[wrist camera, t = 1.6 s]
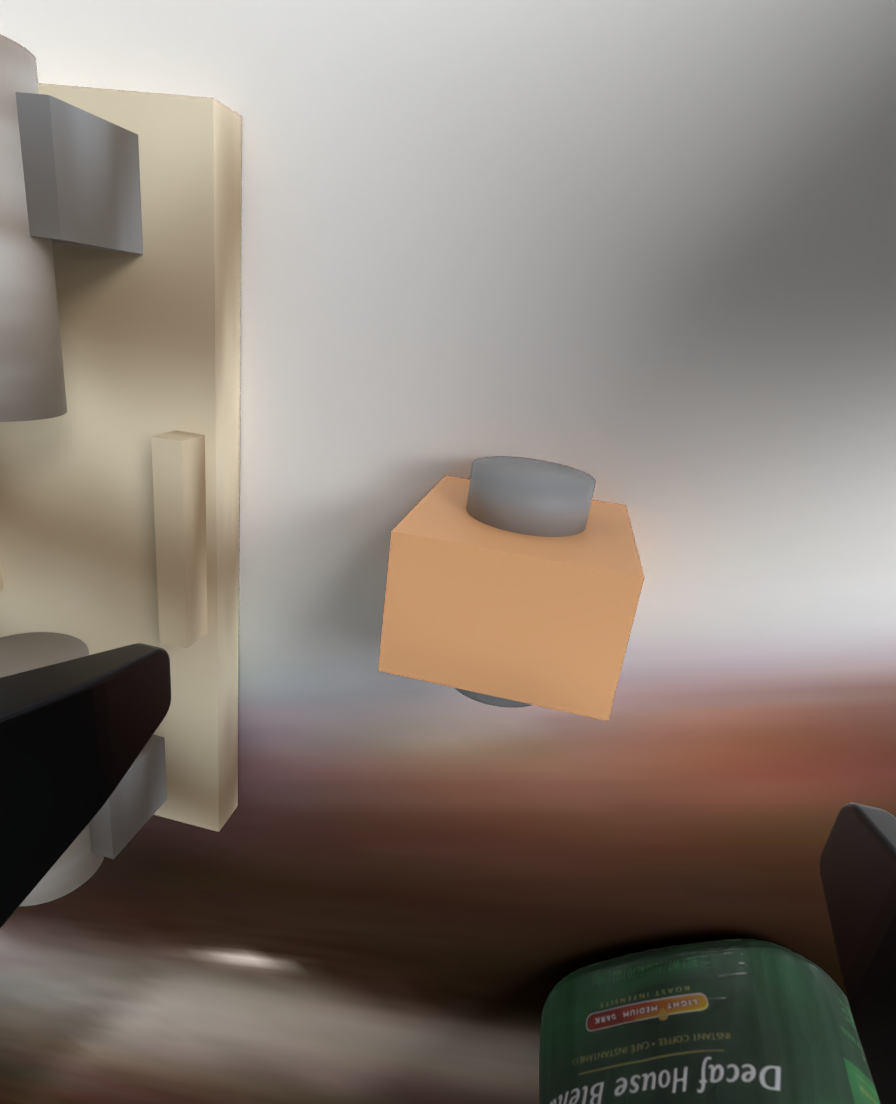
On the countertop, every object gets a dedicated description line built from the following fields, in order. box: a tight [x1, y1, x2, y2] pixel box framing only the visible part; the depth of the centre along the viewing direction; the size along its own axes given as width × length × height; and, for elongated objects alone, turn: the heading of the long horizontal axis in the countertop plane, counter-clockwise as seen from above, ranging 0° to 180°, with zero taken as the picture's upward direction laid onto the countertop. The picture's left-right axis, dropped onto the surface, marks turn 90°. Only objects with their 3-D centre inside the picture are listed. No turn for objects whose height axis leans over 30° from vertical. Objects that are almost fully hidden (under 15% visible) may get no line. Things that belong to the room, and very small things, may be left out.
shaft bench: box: [0, 34, 242, 906], centre depth 16 cm, size 20×8×5 cm, turn 172°
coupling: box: [378, 456, 644, 721], centre depth 14 cm, size 5×5×5 cm
